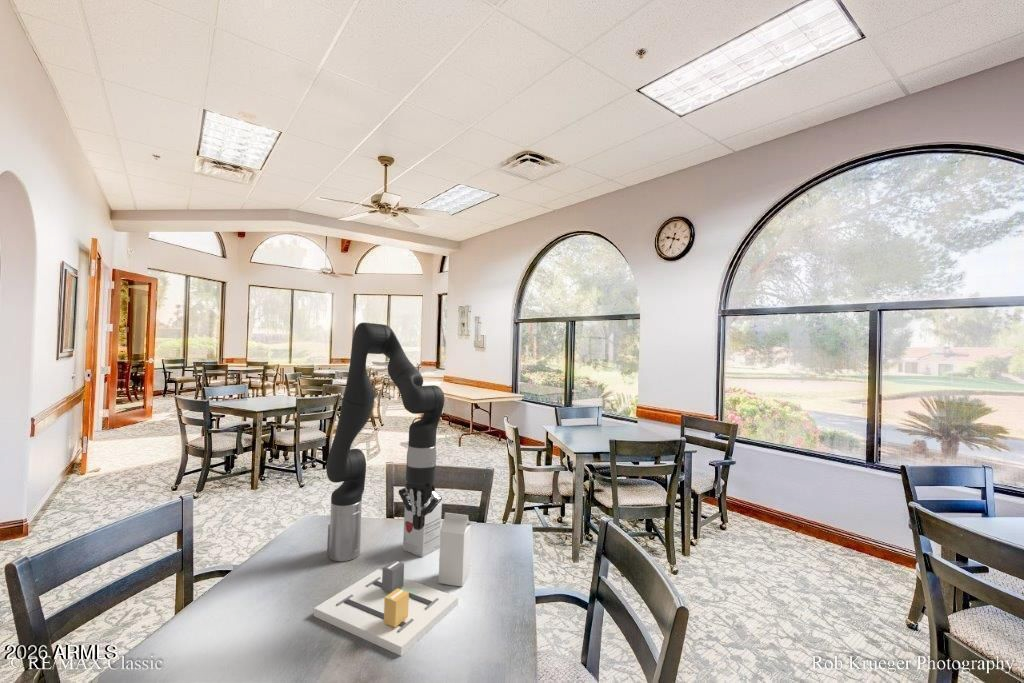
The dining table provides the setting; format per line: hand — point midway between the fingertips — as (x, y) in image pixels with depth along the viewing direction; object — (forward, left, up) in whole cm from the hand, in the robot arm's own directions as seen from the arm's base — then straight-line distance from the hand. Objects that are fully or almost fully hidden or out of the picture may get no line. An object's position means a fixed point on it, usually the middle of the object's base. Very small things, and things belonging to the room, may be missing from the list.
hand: (418, 528), depth 116 cm
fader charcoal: (-8, 0, -18) cm, 20 cm away
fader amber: (+2, -10, -18) cm, 20 cm away
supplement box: (-19, +26, -21) cm, 38 cm away
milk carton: (+1, +16, -21) cm, 26 cm away
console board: (-5, -5, -20) cm, 21 cm away
